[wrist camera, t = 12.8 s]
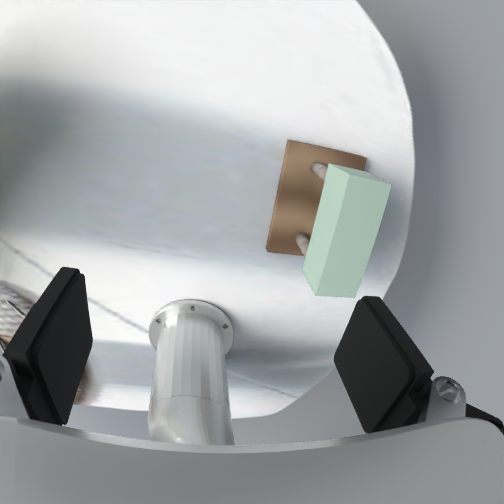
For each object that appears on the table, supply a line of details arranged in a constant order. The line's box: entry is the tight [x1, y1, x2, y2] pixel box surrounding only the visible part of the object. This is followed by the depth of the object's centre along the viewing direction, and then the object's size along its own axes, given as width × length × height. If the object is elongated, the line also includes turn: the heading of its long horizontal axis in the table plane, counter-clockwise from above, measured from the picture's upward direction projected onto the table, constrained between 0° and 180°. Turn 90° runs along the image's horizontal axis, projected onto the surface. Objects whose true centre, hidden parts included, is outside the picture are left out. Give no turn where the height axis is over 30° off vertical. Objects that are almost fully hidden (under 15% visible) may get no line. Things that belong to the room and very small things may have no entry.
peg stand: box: [266, 140, 366, 258], centre depth 36 cm, size 14×10×7 cm
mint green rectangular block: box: [302, 163, 392, 298], centre depth 30 cm, size 4×12×5 cm, turn 170°
